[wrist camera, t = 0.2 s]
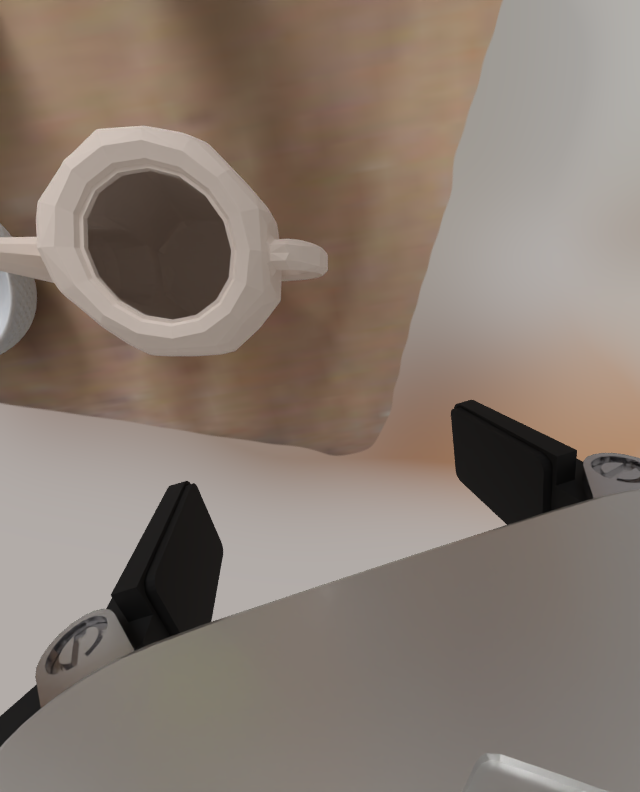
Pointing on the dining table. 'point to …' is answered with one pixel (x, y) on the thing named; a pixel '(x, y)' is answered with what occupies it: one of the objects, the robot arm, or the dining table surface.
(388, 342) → the dining table surface
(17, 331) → the cereal bowl
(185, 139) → the cream teapot
